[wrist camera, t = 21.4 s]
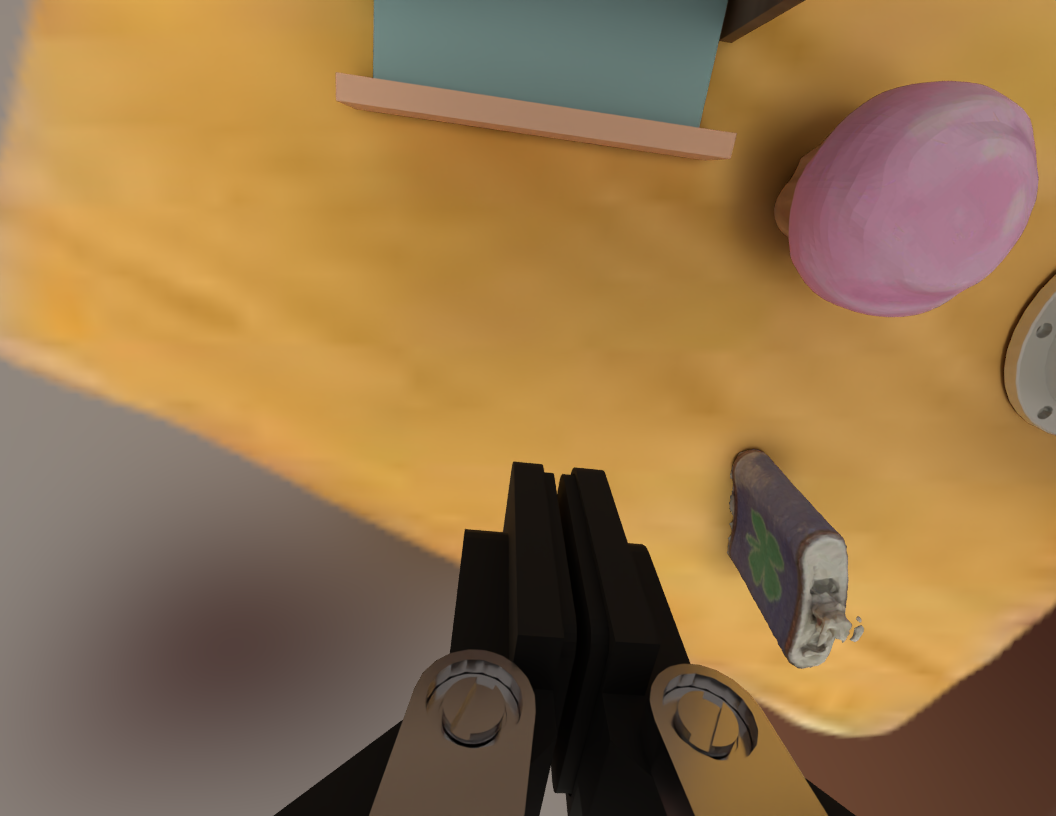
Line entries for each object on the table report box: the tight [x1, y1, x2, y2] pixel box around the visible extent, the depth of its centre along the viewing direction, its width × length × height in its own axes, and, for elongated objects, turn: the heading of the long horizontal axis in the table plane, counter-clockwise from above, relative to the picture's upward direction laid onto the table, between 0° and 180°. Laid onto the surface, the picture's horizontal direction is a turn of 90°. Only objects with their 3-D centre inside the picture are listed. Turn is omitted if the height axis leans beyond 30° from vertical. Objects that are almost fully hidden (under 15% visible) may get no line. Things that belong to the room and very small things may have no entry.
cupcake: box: [774, 81, 1038, 317], centre depth 23 cm, size 9×9×10 cm
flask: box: [727, 449, 864, 669], centre depth 30 cm, size 9×3×11 cm, turn 6°
